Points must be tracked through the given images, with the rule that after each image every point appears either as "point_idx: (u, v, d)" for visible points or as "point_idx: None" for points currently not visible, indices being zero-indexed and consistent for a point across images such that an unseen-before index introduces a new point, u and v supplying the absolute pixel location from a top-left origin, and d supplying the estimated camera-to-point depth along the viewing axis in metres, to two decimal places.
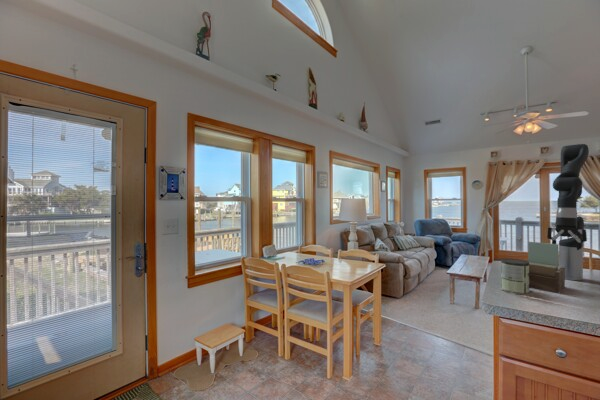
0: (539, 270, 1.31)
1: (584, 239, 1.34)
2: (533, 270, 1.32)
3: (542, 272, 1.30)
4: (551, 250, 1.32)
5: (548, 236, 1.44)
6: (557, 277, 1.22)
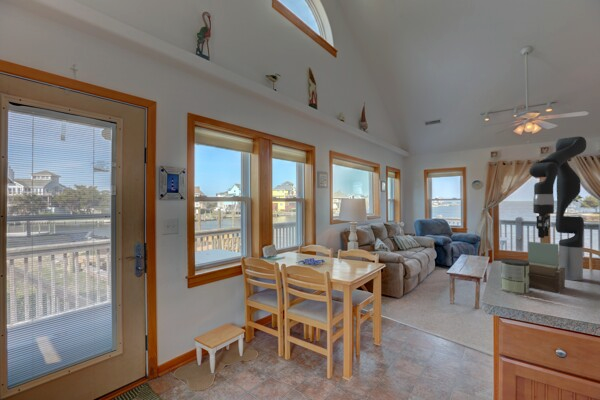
0: (539, 270, 1.31)
1: (549, 225, 1.38)
2: (533, 270, 1.32)
3: (542, 272, 1.30)
4: (551, 250, 1.32)
5: (543, 226, 1.29)
6: (557, 277, 1.22)
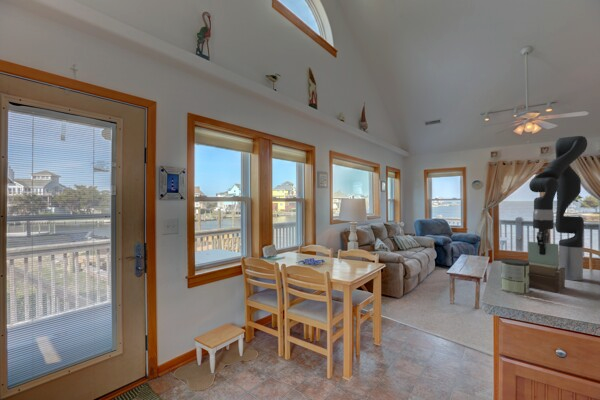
0: (539, 270, 1.31)
1: (547, 242, 1.35)
2: (533, 270, 1.32)
3: (542, 272, 1.30)
4: (551, 250, 1.32)
5: (544, 243, 1.32)
6: (557, 277, 1.22)
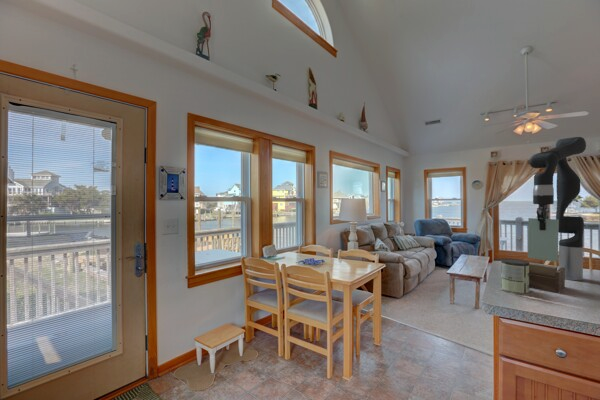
0: (539, 270, 1.31)
1: (547, 218, 1.35)
2: (533, 270, 1.32)
3: (542, 272, 1.30)
4: (551, 225, 1.32)
5: (544, 219, 1.32)
6: (557, 277, 1.22)
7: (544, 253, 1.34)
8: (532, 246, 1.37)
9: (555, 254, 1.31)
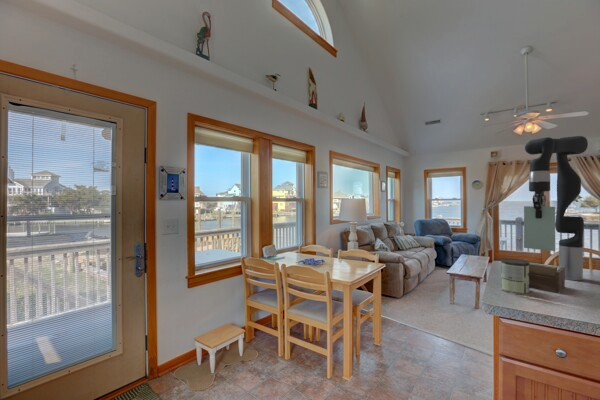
0: (539, 270, 1.31)
1: (544, 206, 1.30)
2: (533, 270, 1.32)
3: (542, 272, 1.30)
4: (547, 213, 1.26)
5: (540, 206, 1.26)
6: (557, 277, 1.22)
7: (540, 242, 1.28)
8: (528, 235, 1.32)
9: (552, 243, 1.25)
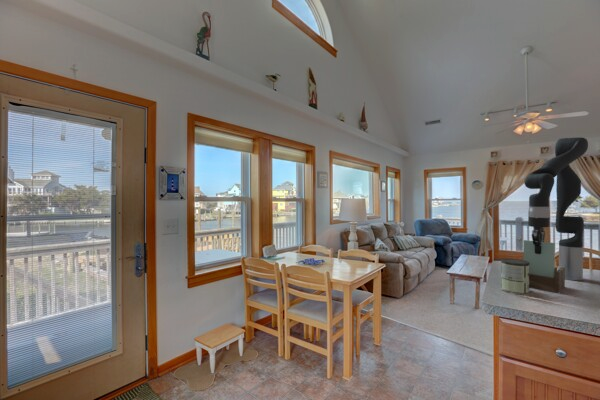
0: None
1: (543, 241, 1.30)
2: None
3: None
4: (547, 249, 1.26)
5: (540, 242, 1.26)
6: (557, 277, 1.22)
7: None
8: None
9: None
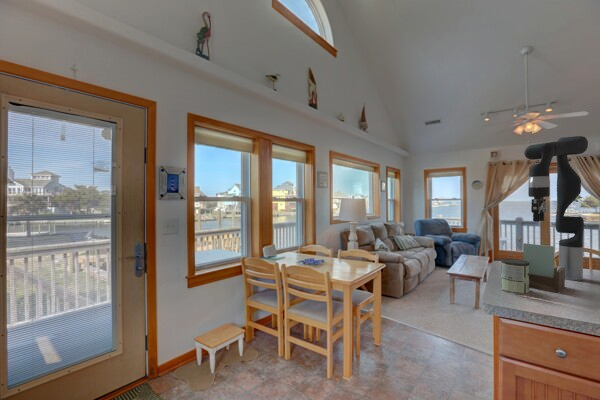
0: None
1: (545, 209, 1.32)
2: None
3: None
4: (547, 252, 1.26)
5: (538, 209, 1.24)
6: (557, 277, 1.22)
7: None
8: None
9: None
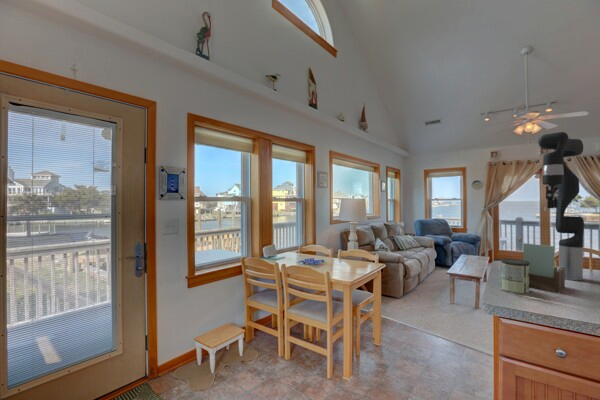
0: None
1: (558, 196, 1.37)
2: None
3: None
4: (547, 252, 1.26)
5: (553, 196, 1.28)
6: (557, 277, 1.22)
7: None
8: None
9: None
